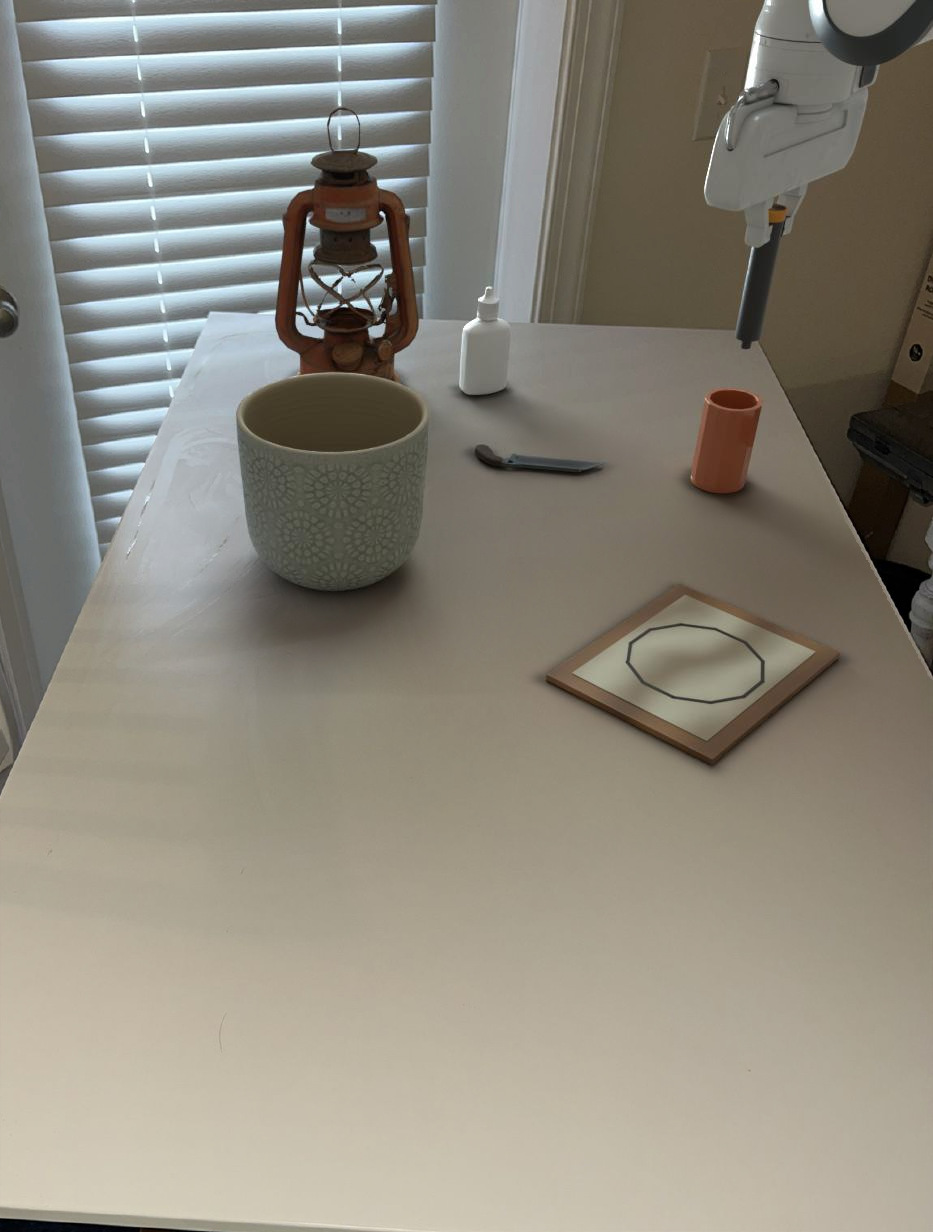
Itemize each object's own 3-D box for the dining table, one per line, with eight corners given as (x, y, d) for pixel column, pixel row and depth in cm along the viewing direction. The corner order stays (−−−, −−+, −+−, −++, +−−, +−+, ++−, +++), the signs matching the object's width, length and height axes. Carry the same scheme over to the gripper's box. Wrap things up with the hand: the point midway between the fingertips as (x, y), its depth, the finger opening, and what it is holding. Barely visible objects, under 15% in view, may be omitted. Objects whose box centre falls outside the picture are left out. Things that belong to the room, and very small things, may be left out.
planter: (237, 610, 112) (225, 453, 102) (254, 519, 125) (245, 371, 115) (424, 613, 112) (431, 454, 102) (422, 521, 125) (427, 372, 115)
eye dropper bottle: (460, 380, 151) (465, 280, 143) (506, 383, 151) (514, 282, 143) (458, 395, 148) (463, 293, 140) (505, 397, 147) (513, 295, 140)
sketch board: (838, 658, 106) (841, 650, 106) (711, 765, 95) (713, 757, 95) (678, 588, 115) (680, 581, 114) (545, 679, 104) (546, 672, 104)
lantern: (274, 405, 146) (261, 123, 127) (280, 361, 156) (270, 94, 137) (418, 405, 146) (427, 123, 126) (415, 362, 156) (424, 94, 136)
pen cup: (755, 480, 131) (773, 398, 125) (725, 499, 128) (743, 416, 122) (708, 463, 134) (724, 383, 128) (679, 481, 131) (694, 399, 125)
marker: (763, 347, 122) (792, 207, 113) (749, 354, 120) (778, 213, 112) (740, 340, 123) (768, 201, 115) (727, 347, 122) (753, 207, 113)
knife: (471, 465, 134) (471, 459, 133) (476, 449, 137) (476, 443, 136) (602, 477, 132) (603, 471, 131) (604, 460, 135) (605, 454, 134)
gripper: (770, 98, 99) (737, 276, 108) (890, 58, 110) (851, 222, 119) (702, 86, 102) (675, 259, 111) (825, 49, 113) (791, 209, 122)
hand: (767, 240), depth 115 cm, fingers closed on marker, 2 cm apart
